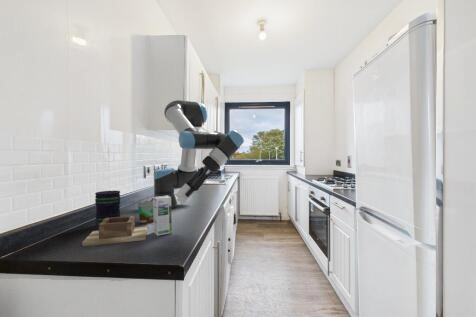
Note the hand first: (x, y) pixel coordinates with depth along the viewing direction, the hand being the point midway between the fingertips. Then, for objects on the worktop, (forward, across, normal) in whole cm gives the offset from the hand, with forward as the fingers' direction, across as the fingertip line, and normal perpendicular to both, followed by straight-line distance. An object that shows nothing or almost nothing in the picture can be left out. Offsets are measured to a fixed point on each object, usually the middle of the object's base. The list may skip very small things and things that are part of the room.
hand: (178, 199), depth 97 cm
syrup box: (+14, +1, -5) cm, 15 cm away
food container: (+17, +21, -2) cm, 27 cm away
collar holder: (+25, +1, +7) cm, 26 cm away
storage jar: (+30, +20, +11) cm, 38 cm away
